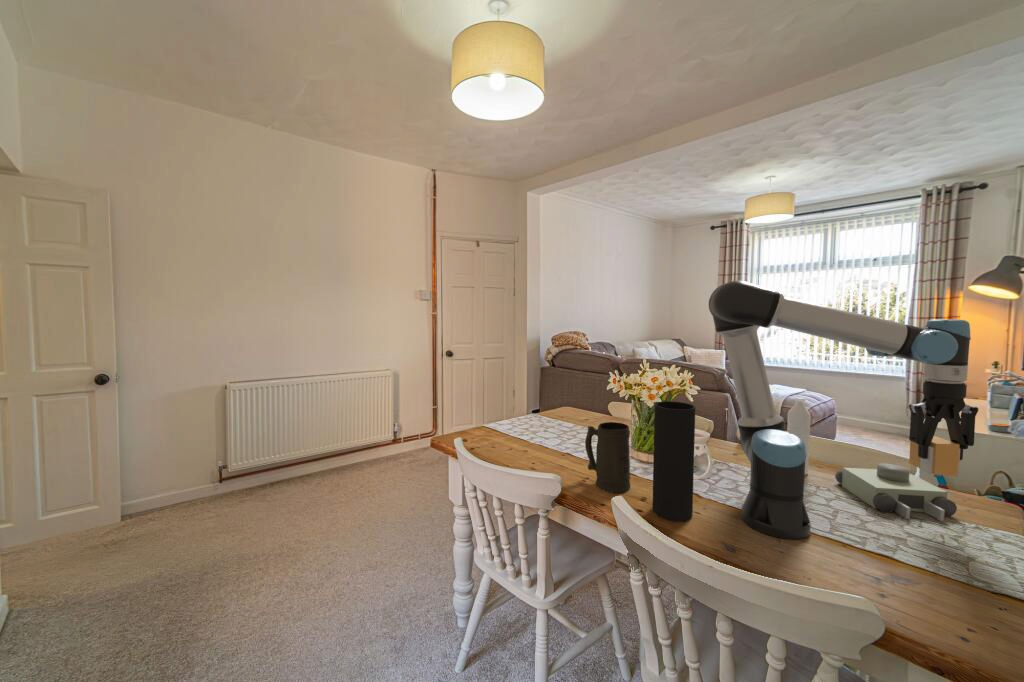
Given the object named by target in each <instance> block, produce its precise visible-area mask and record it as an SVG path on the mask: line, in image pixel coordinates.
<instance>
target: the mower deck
mask: <svg viewBox="0 0 1024 682" xmlns="http://www.w3.org/2000/svg"><path fill="white" fill-rule="evenodd" d="M876 465H877V466H876V468H861V467H860V468H859V467H858V468H857V467H856V468H855V467H842V469H839V470H838V471H837V472H835V476H834V477H835V480H836V481H837V483H839V484H841V486H842V488H844V489H845V490H847V491H848V492H850V493H852V495H854V496H856V497H858V498H859V499H860V500H862V501H863V502H865V503H866V504H868V505H869V506H871V507H872V508H874V509H876V510H878V509H879V510H880V511H881V512H883V513H888V514H889V513H893V512H895V513H897V514H898V515H900V516H901V517H903V518H905V519H906V520H907V519H908V520H910V519H911V512H922V513H923V512H924V513H926V514H928V516H929V515H930V516H931V517H932V518H934V517H935V518H934V519H936V518H937V519H936V520H938V521H939V520H940V522H944V521H945V516H946V517H947V518H948V517H952V516H954V515H955V514H956V512H957V510H958V507H957V505H956V503H955V502H954V501H952V500H951V499H948V491H946V490H944V489H942V488H940V487H938V486H936V485H934V484H932V483H931V482H928V481H926V480H924V479H922V478H920V477H919V476H916V475H915V474H912V473H910V472H911V471H910V469H908V468H906V467H904V466H900V465H897V464H893V463H892V464H891V463H881V462H880V463H878V464H876Z"/></svg>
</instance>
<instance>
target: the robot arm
mask: <svg viewBox="0 0 1024 682" xmlns="http://www.w3.org/2000/svg"><path fill="white" fill-rule="evenodd" d="M708 310H709V312H710V314H711V315H712V319H713V323H714V326H715V332H716V334H717V335H719V336H721V337H722V338H723V341H724V346H725V350H726V354H727V358H728V361H729V367H730V372H731V375H732V380H733V383H734V388H735V392H736V393H735V394H736V396H737V401H738V406H739V410H740V414H741V416H740V417H739V419H738V420H737V426H738V430H739V431H738V432H739V444H740V446H741V450H742V452H743V453H744V454H745V455H746V457H747V459H748V461H749V463H750V479H749V481H750V483H749V491H748V493H747V496H746V497H745V499H744V502H743V504H742V507H741V513H740V514H741V515H740V516H741V519H742V521H743V522H744V523H745V524H746V525H747V526H749V527H750V528H752V529H754V530H755V531H758V532H760V533H763V534H765V535H768V536H772V537H775V538H780V539H788V540H800V539H801V540H802V539H806V538H807V537H809V536H810V534H811V527H812V526H811V525H812V524H811V521H810V517H809V514H808V511H807V508H806V505H805V502H804V492H805V491H804V490H805V460H806V451H805V444H804V442H803V441H802V440H801V439H800V438H799V437H798V436H796V435H794V434H790V433H788V432H787V427H786V426H785V420H784V417H783V416H781V415H780V414H778V413H777V412H776V409H775V405H774V401H773V396H772V392H771V387H770V383H769V380H768V379H769V378H768V375H767V370H766V366H765V360H764V357H763V354H762V349H761V345H760V339H759V336H758V329H759V328H760V327H761V328H765V329H767V328H769V327H772V326H774V327H778V328H782V329H787V330H791V331H794V332H799V333H802V334H805V335H806V334H807V335H811V336H815V337H819V338H823V339H827V340H832V341H835V342H839V343H844V344H846V345H851V346H856V347H859V348H864V349H865V351H866V352H867V353H868V355H869V356H870V355H871V356H872V357H882V358H883V357H893V358H894V357H895V358H898V359H904V360H910V361H915V362H919V363H922V364H923V375H922V376H923V379H924V380H923V382H922V394H923V398H922V401H921V402H920V403H916V404H914V403H910V404H908V408H909V410H910V423H909V436H908V437H909V442H910V441H912V442H914V443H917V444H918V456H919V457H920V458H921V463H920V468H919V469H920V470H922V471H924V472H926V473H928V474H931V473H932V468H933V452H934V448H933V447H930V444H931V442H932V439H933V436H935V434H936V433H935V432H936V431H937V428H938V425H939V423H941V422H942V420H943V419H944V420H945V423H946V427H947V432H948V436H949V441H951V442H954V443H957V444H960V447H959V463H958V475H960V472H959V471H960V461H962V460H963V459H964V458H963V457H964V450H968V449H969V447H973V446H974V444H975V432H976V431H975V429H976V416H977V414H978V412H979V407H977V406H974V405H968V404H966V402H965V400H964V399H965V398H966V397H967V389H968V386H967V384H966V381H968V372H969V371H968V369H969V353H970V344H971V343H970V342H971V339H972V337H971V325H970V324H971V323H970V322H969V321H968V320H965V319H929V320H927V321H926V325H925V326H922V327H918V326H914V325H910V324H904V323H901V322H898V321H893V320H889V319H884V318H880V317H875V316H870V315H868V314H867V315H866V314H862V313H857V312H853V311H849V310H844V309H839V308H837V307H836V308H835V307H831V306H826V305H823V304H818V303H814V302H811V301H810V302H809V301H805V300H801V299H795V298H792V297H788V296H785V295H784V294H783V293H782V291H781V290H780V291H779V290H776V289H770V288H767V287H764V286H760V285H757V284H755V283H751V282H748V281H745V280H733V281H728V282H726V283H724V284H721V285H719V286H717V287H716V288H715V289H714V290H713V291H712V293H711V295H710V296H709V299H708Z"/></svg>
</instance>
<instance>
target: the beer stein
mask: <svg viewBox="0 0 1024 682" xmlns="http://www.w3.org/2000/svg"><path fill="white" fill-rule="evenodd" d="M630 435H631V430H630V427H629V425H627V424H626V423H623V422H617V421H615V422H613V421H608V422H603V423H600V424H598V425H597V428H595V426H594V425H588V426H587V434H586V437H585V439H584V440H585V441H584V444H585V450H586V454H587V459H588V461H589V463H588V465H587V469H588V471H592V470H593V471H595V473H596V474H595V476H596V479H595V486H596V487H597V488H598V489H599V490H601V491H603V490H604V491H603V492H606V491H608V492H607V493H611V492H615V493H614V494H623V493H626V492H628V491H629V490H630V489H631V470H630V469H631V459H630V457H631V456H630V454H631V453H630ZM594 436H597V442H596V447H595V449H596V451H595V452H596V454H595V455H596V458H595V456H594V451H593V445H592V442H593V441H592V439H593V437H594ZM622 492H623V493H622Z"/></svg>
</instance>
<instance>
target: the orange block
mask: <svg viewBox="0 0 1024 682" xmlns="http://www.w3.org/2000/svg"><path fill="white" fill-rule="evenodd" d="M909 443H910V444H909V458H908V461H909V462H908V464H910V465H911V466H914V467H916V468H918V469H920V463H921V458H920V457H919V456H918V444H917V443H914V442H912V441H910V440H909ZM930 447H933V448H934V452H933V468H932V473H930V474H932V475H933V476H951V477H952V476H953V477H958V475H959V474H958V463H959V464H960V462H959V447H960V444H957V443H954V442H951V440H947V439H945V438H942V437H939V436H935V435H934V436H933V439H932V442H931V444H930Z"/></svg>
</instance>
